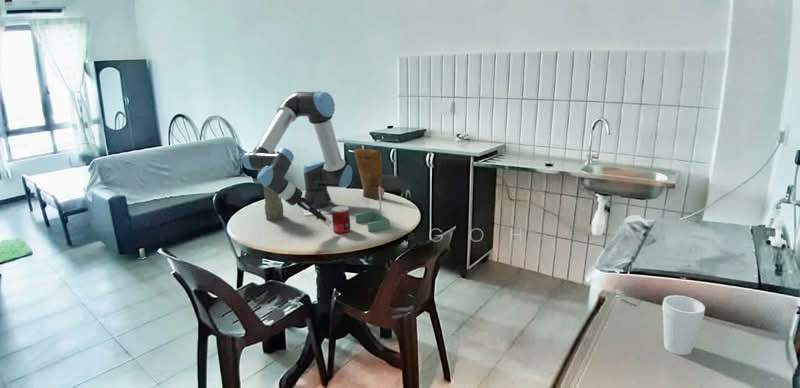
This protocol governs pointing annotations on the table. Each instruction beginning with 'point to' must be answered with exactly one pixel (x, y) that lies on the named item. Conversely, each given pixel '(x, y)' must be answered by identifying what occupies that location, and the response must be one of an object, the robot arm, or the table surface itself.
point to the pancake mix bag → (370, 171)
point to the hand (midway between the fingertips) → (330, 223)
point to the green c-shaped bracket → (374, 217)
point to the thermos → (272, 204)
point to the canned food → (341, 219)
